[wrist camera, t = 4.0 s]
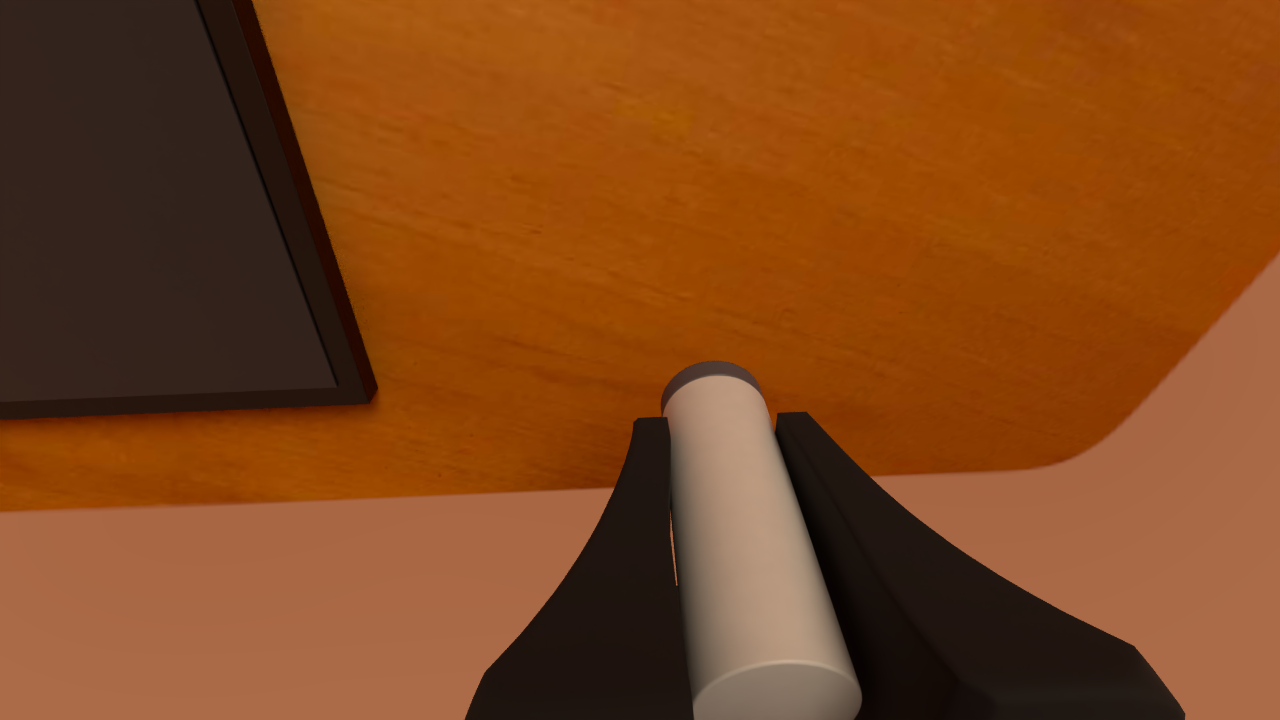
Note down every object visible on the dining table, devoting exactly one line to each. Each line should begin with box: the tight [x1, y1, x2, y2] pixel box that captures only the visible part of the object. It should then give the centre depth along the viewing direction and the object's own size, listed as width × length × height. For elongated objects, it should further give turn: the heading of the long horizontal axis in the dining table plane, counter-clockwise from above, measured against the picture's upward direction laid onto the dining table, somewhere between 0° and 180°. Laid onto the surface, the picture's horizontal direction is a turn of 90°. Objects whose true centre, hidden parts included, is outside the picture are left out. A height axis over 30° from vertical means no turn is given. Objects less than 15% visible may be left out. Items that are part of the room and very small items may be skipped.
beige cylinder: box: [661, 361, 862, 720], centre depth 11 cm, size 2×2×7 cm
